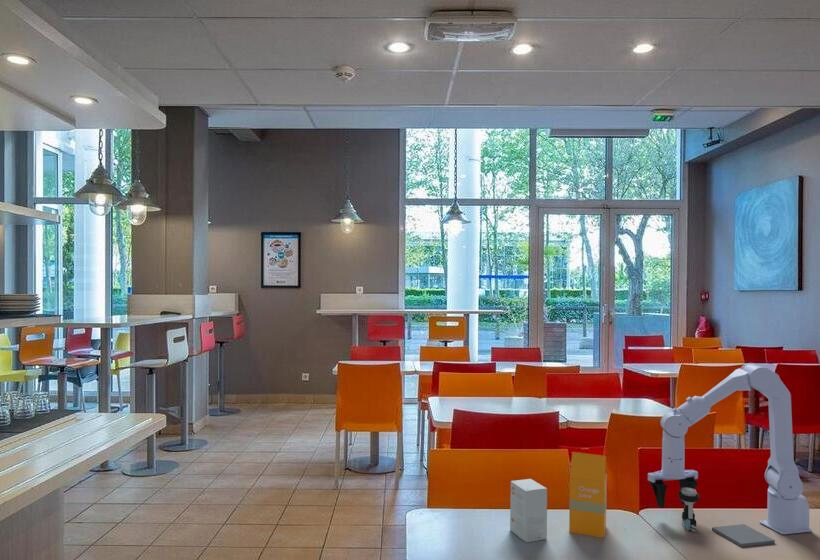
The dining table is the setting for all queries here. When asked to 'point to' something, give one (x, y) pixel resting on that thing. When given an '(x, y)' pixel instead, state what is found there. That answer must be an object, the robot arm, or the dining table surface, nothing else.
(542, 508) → the small box
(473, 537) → the dining table surface
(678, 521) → the dining table surface
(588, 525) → the orange juice
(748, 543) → the rubber pad
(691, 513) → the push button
